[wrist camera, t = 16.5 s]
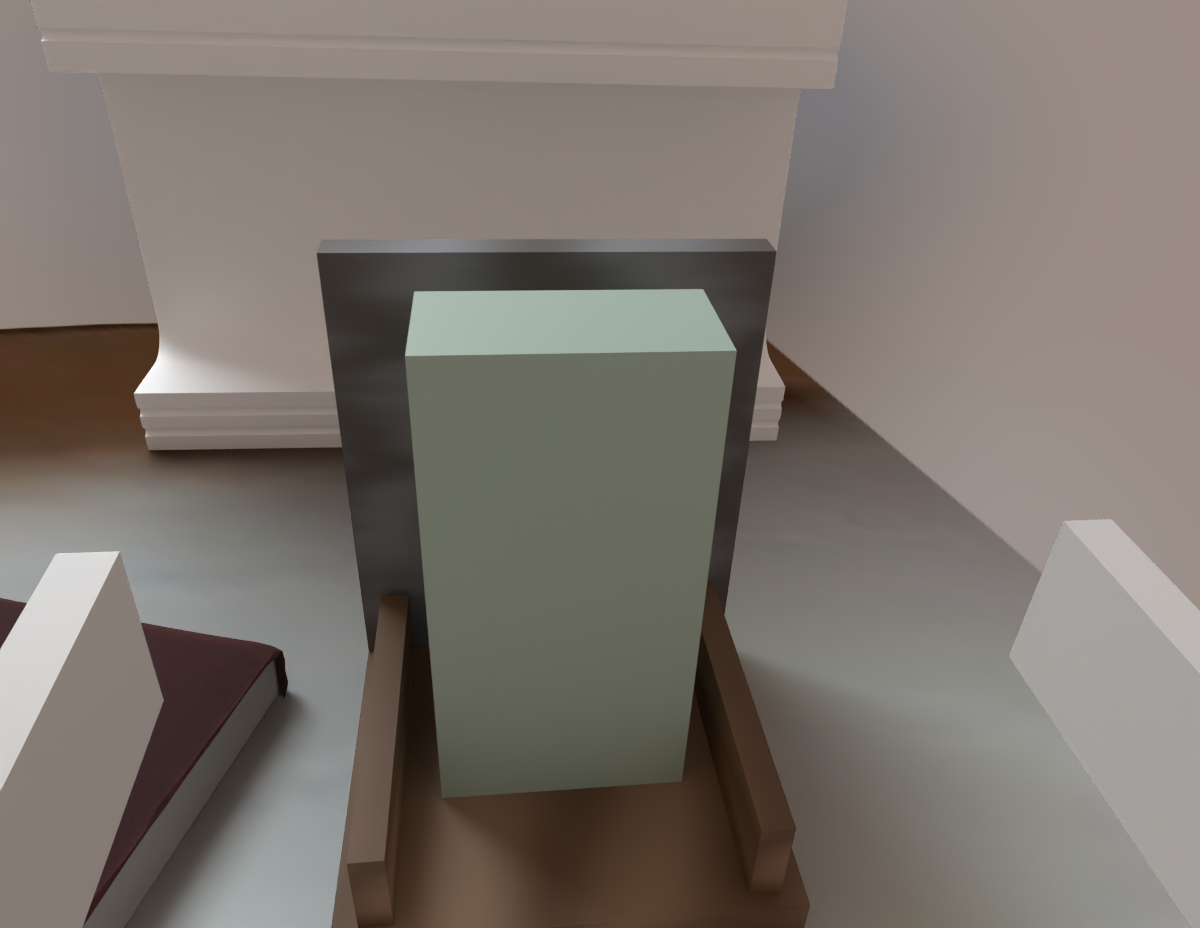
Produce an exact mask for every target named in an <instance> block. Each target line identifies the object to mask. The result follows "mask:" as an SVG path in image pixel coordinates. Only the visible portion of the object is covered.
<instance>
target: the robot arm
mask: <svg viewBox="0 0 1200 928" xmlns="http://www.w3.org/2000/svg"><path fill="white" fill-rule="evenodd" d="M1009 657H1010V659H1011V660H1012V662H1013V663H1014V665H1015V666H1016V668H1017V669H1018V671H1019V672H1020V674H1021V675H1022V677H1023V678H1024V680H1025V681H1026V683H1027V684H1028V686H1029V687H1030V689H1031V690H1032V692H1033V693H1034V695H1035V696H1036V698H1037V699H1038V701H1039V702H1040V704H1041V705H1042V707H1043V708H1044V709H1045V711H1046V712H1047V714H1048V715H1049V717H1050V718H1051V720H1052V721H1053V723H1054V724H1055V726H1056V727H1057V729H1058V730H1059V732H1060V733H1061V735H1062V736H1063V738H1064V739H1065V741H1066V742H1067V744H1068V745H1069V747H1070V748H1071V750H1072V751H1073V753H1074V754H1075V756H1076V757H1077V759H1078V760H1079V762H1080V763H1081V764H1082V766H1083V767H1084V769H1085V770H1086V772H1087V773H1088V775H1089V776H1090V778H1091V779H1092V781H1093V782H1094V784H1095V785H1096V787H1097V788H1098V790H1099V791H1100V793H1101V794H1102V796H1103V797H1104V799H1105V800H1106V802H1107V803H1108V805H1109V806H1110V808H1111V809H1112V811H1113V812H1114V814H1115V815H1116V817H1117V818H1118V819H1119V821H1120V822H1121V824H1122V825H1123V827H1124V828H1125V830H1126V831H1127V833H1128V834H1129V836H1130V837H1131V839H1132V840H1133V842H1134V843H1135V845H1136V846H1137V848H1138V849H1139V851H1140V852H1141V854H1142V855H1143V857H1144V858H1145V860H1146V861H1147V863H1148V864H1149V866H1150V867H1151V869H1152V870H1153V872H1154V873H1155V875H1156V876H1157V877H1158V879H1159V880H1160V882H1161V883H1162V885H1163V886H1164V888H1165V889H1166V891H1167V892H1168V894H1169V895H1170V897H1171V898H1172V900H1173V901H1174V903H1175V904H1176V906H1177V907H1178V909H1179V910H1180V912H1181V913H1182V915H1183V916H1184V918H1185V919H1186V921H1187V922H1188V924H1189V925H1190V927H1191V928H1200V611H1199V609H1198V608H1197V607H1196V606H1195V605H1194V604H1193V603H1192V602H1191V601H1190V600H1189V599H1188V598H1187V597H1186V596H1185V595H1184V594H1183V593H1182V592H1181V591H1180V590H1179V589H1178V588H1177V587H1176V586H1175V585H1174V584H1173V582H1172V581H1171V580H1170V579H1169V578H1168V577H1167V576H1166V575H1165V574H1164V573H1163V572H1162V571H1161V570H1160V569H1159V568H1158V567H1157V566H1156V565H1155V564H1154V563H1153V562H1152V561H1151V560H1150V559H1149V558H1148V557H1147V556H1146V554H1144V552H1143V551H1142V550H1141V549H1140V548H1139V547H1138V546H1137V545H1136V544H1135V543H1134V542H1133V541H1132V540H1131V539H1130V538H1129V537H1128V536H1127V535H1126V534H1125V533H1124V532H1123V531H1122V530H1121V529H1120V528H1119V527H1118V525H1117V524H1116V523H1115V522H1114V521H1113V520H1112V519H1101V520H1071V521H1070V520H1069V521H1063V523H1062V525H1061V528H1060V531H1059V533H1058V536H1057V538H1056V540H1055V543H1054V545H1053V548H1052V550H1051V553H1050V555H1049V558H1048V560H1047V563H1046V566H1045V568H1044V570H1043V572H1042V575H1041V577H1040V580H1039V582H1038V585H1037V587H1036V590H1035V592H1034V595H1033V597H1032V600H1031V602H1030V605H1029V607H1028V609H1027V612H1026V614H1025V617H1024V619H1023V622H1022V624H1021V627H1020V629H1019V632H1018V634H1017V637H1016V639H1015V642H1014V644H1013V647H1012V649H1011V652H1010V654H1009ZM163 701H164V700H163V696H162V693H161V690H160V686H159V683H158V679H157V676H156V673H155V669H154V666H153V663H152V659H151V656H150V652H149V649H148V646H147V642H146V639H145V636H144V632H143V629H142V625H141V622H140V619H139V615H138V612H137V609H136V605H135V602H134V598H133V595H132V592H131V588H130V585H129V582H128V578H127V575H126V571H125V568H124V565H123V561H122V558H121V555H120V551H118V552H87V553H57V554H56V555H55V557H54V558H53V560H52V562H51V563H50V565H49V567H48V569H47V570H46V572H45V574H44V575H43V577H42V579H41V580H40V582H39V584H38V586H37V587H36V589H35V591H34V592H33V594H32V596H31V598H30V599H29V601H28V603H27V604H26V606H25V608H24V610H23V611H22V613H21V615H20V616H19V618H18V620H17V621H16V623H15V625H14V627H13V628H12V630H11V632H10V633H9V635H8V637H7V639H6V640H5V642H4V644H3V645H2V647H1V649H0V928H82V927H83V924H84V922H85V919H86V916H87V913H88V910H89V908H90V905H91V902H92V899H93V896H94V894H95V891H96V888H97V885H98V882H99V880H100V877H101V874H102V871H103V869H104V866H105V863H106V860H107V857H108V855H109V852H110V849H111V846H112V843H113V841H114V838H115V835H116V832H117V829H118V827H119V824H120V821H121V818H122V815H123V813H124V810H125V807H126V804H127V801H128V799H129V796H130V793H131V790H132V787H133V785H134V782H135V779H136V776H137V773H138V771H139V768H140V765H141V762H142V760H143V757H144V754H145V751H146V748H147V746H148V743H149V740H150V737H151V734H152V732H153V729H154V726H155V723H156V720H157V718H158V715H159V712H160V709H161V706H162V704H163Z"/></svg>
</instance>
